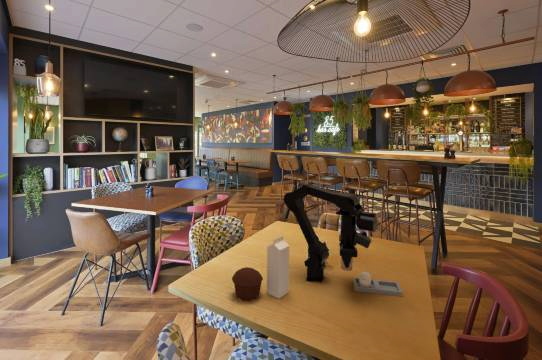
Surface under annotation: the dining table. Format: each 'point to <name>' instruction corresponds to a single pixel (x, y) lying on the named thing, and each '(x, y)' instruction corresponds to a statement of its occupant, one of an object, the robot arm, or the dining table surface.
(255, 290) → the muffin
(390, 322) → the dining table surface
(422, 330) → the dining table surface
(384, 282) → the grey flat rectangular tray
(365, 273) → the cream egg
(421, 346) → the dining table surface
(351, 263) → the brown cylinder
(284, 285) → the milk
